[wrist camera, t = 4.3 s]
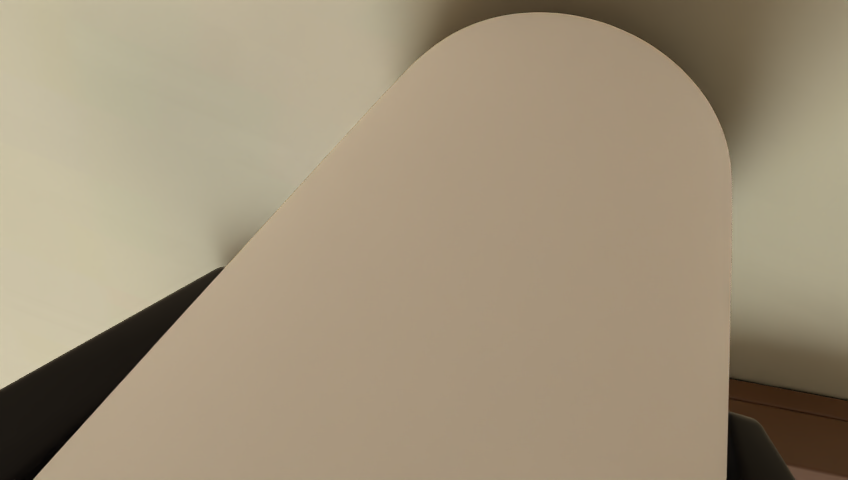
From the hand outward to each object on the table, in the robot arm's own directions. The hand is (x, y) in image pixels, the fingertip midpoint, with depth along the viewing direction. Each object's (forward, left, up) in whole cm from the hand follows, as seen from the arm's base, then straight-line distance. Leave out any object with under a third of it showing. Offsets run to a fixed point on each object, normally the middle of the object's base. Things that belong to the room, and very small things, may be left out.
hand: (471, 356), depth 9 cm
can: (-1, 0, -5) cm, 5 cm away
